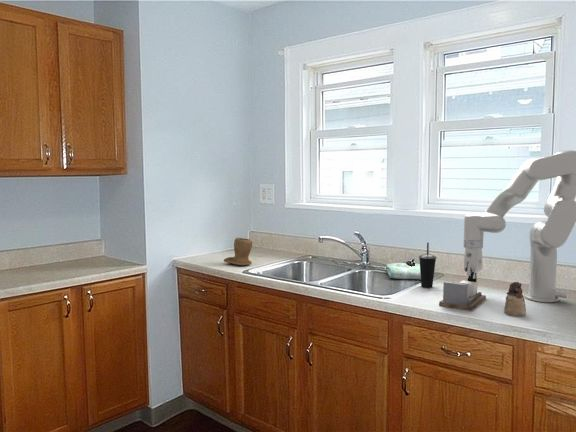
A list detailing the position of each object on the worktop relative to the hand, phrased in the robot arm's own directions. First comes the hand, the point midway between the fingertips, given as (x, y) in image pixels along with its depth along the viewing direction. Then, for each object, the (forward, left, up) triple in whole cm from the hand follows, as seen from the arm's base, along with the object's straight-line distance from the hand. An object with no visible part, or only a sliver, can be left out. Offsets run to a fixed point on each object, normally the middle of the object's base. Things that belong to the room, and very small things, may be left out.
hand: (471, 287), depth 201 cm
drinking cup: (+21, -5, -4) cm, 22 cm away
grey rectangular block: (0, +20, -2) cm, 20 cm away
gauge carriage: (+1, +8, -2) cm, 8 cm away
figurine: (-20, +15, -4) cm, 26 cm away
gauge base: (0, +11, -4) cm, 12 cm away
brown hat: (+124, +7, -4) cm, 124 cm away
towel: (+38, -21, -4) cm, 43 cm away
